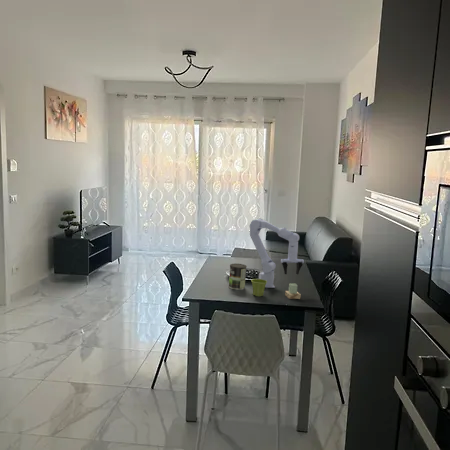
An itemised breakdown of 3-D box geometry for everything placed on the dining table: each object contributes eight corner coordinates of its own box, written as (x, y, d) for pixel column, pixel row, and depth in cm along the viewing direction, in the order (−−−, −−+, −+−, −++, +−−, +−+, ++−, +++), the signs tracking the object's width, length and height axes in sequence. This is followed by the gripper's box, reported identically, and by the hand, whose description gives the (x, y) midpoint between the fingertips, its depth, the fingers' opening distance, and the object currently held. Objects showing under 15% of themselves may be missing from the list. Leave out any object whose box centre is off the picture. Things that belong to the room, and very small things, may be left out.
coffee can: (232, 290, 261) (233, 267, 259) (226, 285, 271) (227, 263, 269) (247, 289, 265) (249, 267, 263) (241, 284, 275) (242, 263, 273)
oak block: (289, 299, 252) (289, 294, 251) (285, 295, 259) (285, 290, 258) (300, 299, 253) (300, 294, 253) (295, 295, 260) (296, 290, 260)
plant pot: (249, 292, 259) (250, 278, 258) (264, 292, 260) (265, 279, 259) (251, 297, 250) (252, 282, 249) (267, 297, 251) (268, 283, 250)
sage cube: (290, 293, 254) (290, 285, 253) (288, 291, 258) (289, 283, 257) (296, 293, 254) (297, 285, 253) (295, 291, 258) (295, 283, 257)
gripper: (283, 253, 261) (282, 275, 263) (306, 254, 264) (304, 275, 265) (280, 251, 268) (278, 272, 270) (302, 251, 271) (300, 272, 272)
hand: (291, 274), depth 268 cm, fingers open, 7 cm apart
